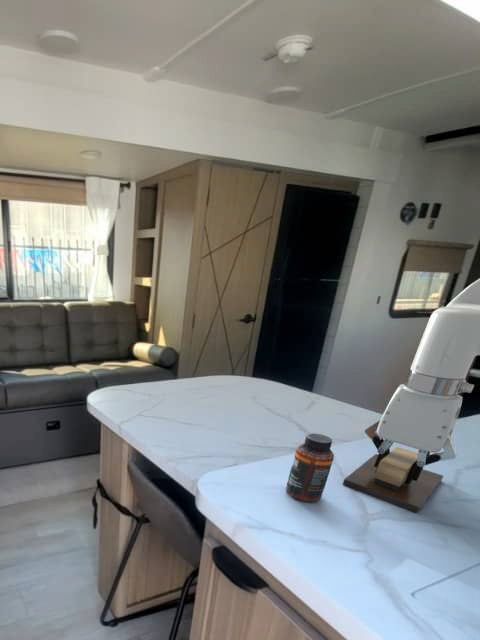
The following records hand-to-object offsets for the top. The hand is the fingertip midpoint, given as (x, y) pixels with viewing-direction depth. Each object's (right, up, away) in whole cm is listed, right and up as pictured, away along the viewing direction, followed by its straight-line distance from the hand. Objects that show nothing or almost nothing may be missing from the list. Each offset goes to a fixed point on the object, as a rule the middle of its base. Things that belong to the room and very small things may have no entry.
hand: (394, 475), depth 77 cm
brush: (0, -1, 0) cm, 1 cm away
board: (+1, -1, +2) cm, 3 cm away
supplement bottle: (-19, -3, -4) cm, 20 cm away
